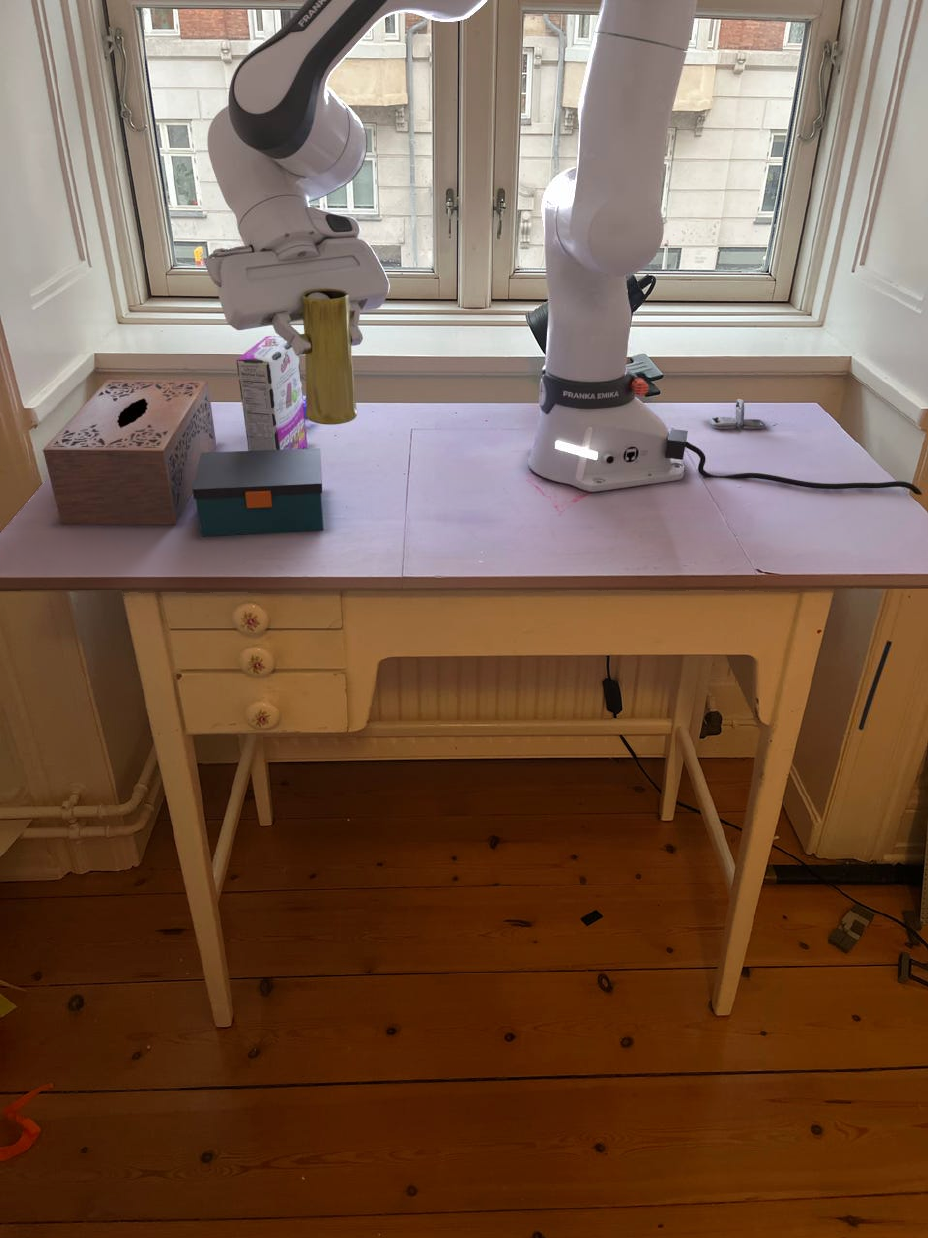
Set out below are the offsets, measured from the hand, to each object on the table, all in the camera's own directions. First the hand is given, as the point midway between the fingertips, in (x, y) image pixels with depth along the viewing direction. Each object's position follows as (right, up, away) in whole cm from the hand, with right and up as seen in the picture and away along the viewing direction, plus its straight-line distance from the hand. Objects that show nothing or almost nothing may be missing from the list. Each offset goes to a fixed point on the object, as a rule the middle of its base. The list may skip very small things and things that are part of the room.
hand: (330, 347), depth 106 cm
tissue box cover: (-29, -12, +22) cm, 38 cm away
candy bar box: (-12, -8, +29) cm, 33 cm away
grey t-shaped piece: (+60, 0, +44) cm, 74 cm away
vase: (-1, -7, +5) cm, 9 cm away
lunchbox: (-11, -17, +14) cm, 25 cm away
